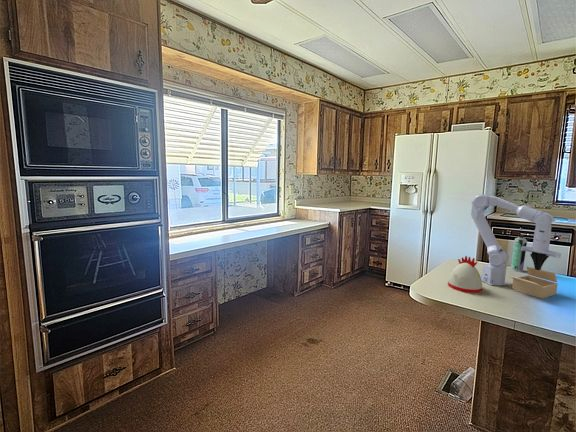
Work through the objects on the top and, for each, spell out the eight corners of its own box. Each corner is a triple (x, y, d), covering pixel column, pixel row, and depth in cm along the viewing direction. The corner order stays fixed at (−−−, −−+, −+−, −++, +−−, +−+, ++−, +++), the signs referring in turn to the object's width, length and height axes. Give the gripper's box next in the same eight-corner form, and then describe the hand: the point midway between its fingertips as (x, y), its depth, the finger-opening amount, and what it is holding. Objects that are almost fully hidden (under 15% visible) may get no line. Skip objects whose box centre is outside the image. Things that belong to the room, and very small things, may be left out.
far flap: (528, 274, 151) (529, 274, 151) (556, 282, 141) (557, 281, 141) (526, 266, 149) (526, 265, 149) (554, 273, 139) (555, 273, 139)
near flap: (542, 286, 135) (542, 287, 135) (514, 278, 145) (513, 279, 145) (536, 283, 133) (536, 283, 133) (508, 274, 143) (508, 275, 143)
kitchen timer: (473, 295, 138) (476, 262, 136) (442, 285, 149) (445, 254, 147) (487, 289, 146) (490, 257, 144) (456, 280, 157) (459, 250, 155)
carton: (541, 298, 136) (543, 287, 135) (511, 288, 146) (513, 278, 146) (556, 294, 141) (557, 283, 141) (526, 285, 152) (527, 275, 151)
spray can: (524, 272, 172) (529, 236, 169) (513, 271, 173) (518, 235, 171) (519, 269, 178) (524, 234, 175) (509, 268, 179) (513, 233, 176)
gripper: (566, 242, 136) (561, 273, 138) (528, 236, 149) (524, 264, 150) (557, 244, 133) (553, 275, 134) (519, 237, 145) (516, 265, 147)
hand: (537, 269), depth 142 cm, fingers closed
